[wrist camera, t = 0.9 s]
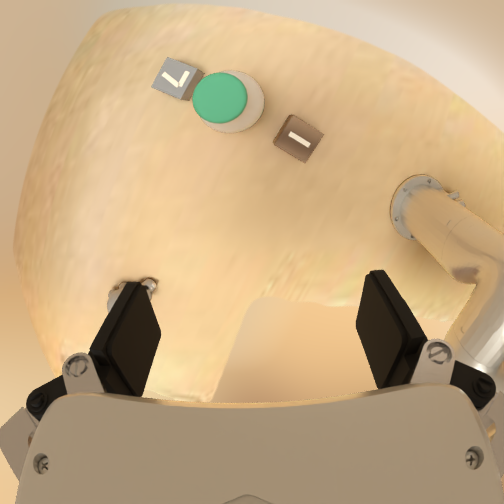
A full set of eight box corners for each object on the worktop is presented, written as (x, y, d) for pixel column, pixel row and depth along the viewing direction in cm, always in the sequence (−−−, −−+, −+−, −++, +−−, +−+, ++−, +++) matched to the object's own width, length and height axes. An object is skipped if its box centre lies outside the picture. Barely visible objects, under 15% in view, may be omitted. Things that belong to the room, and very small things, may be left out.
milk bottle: (205, 92, 36) (159, 79, 19) (252, 73, 35) (245, 41, 17) (224, 136, 40) (194, 156, 22) (271, 118, 38) (280, 122, 20)
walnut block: (289, 114, 38) (293, 115, 33) (317, 131, 39) (324, 134, 34) (272, 141, 40) (274, 145, 35) (300, 157, 41) (305, 163, 36)
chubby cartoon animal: (165, 288, 57) (167, 308, 50) (123, 314, 56) (120, 336, 48) (147, 262, 54) (146, 279, 46) (103, 290, 53) (97, 310, 45)
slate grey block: (177, 62, 34) (166, 56, 29) (204, 73, 35) (197, 68, 30) (162, 89, 36) (150, 87, 31) (189, 100, 37) (180, 99, 32)
